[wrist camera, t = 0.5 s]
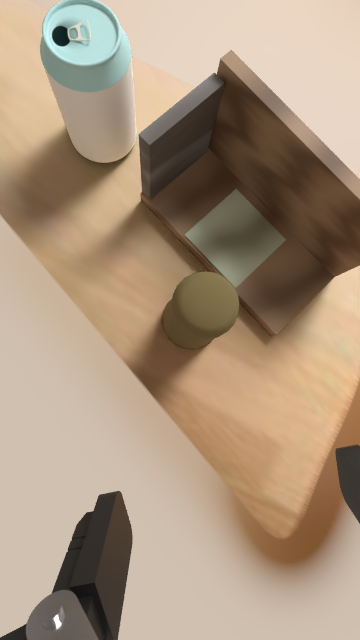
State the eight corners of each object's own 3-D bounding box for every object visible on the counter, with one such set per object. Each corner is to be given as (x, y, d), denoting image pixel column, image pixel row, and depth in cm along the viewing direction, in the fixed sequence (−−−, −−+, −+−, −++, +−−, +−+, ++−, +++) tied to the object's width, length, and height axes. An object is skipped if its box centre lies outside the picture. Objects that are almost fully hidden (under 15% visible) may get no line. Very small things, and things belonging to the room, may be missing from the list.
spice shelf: (141, 200, 36) (136, 126, 25) (207, 143, 38) (231, 49, 26) (271, 335, 36) (327, 324, 24) (334, 273, 37) (414, 234, 26)
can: (105, 179, 36) (82, 91, 25) (57, 135, 37) (11, 27, 25) (150, 136, 37) (149, 32, 26) (103, 94, 38) (81, -30, 26)
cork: (186, 361, 35) (202, 361, 24) (150, 314, 35) (149, 293, 24) (231, 325, 36) (266, 309, 25) (196, 280, 36) (215, 244, 25)
